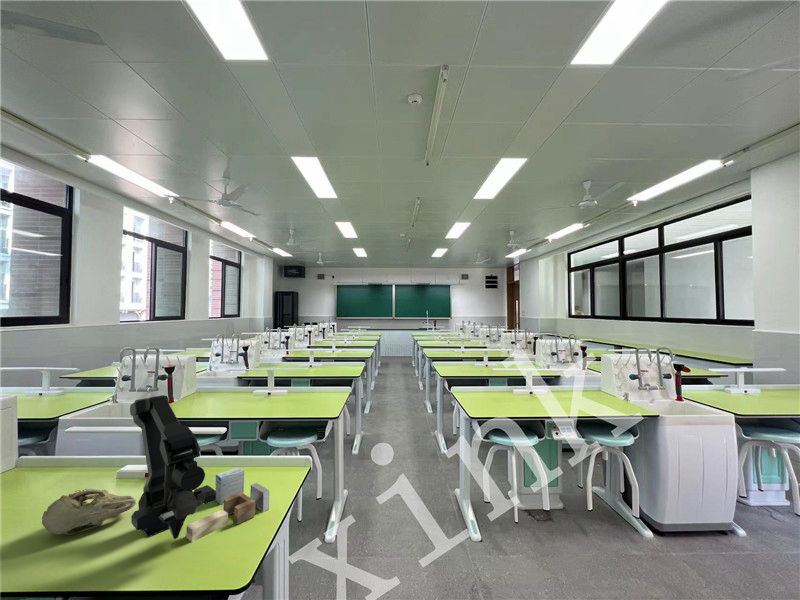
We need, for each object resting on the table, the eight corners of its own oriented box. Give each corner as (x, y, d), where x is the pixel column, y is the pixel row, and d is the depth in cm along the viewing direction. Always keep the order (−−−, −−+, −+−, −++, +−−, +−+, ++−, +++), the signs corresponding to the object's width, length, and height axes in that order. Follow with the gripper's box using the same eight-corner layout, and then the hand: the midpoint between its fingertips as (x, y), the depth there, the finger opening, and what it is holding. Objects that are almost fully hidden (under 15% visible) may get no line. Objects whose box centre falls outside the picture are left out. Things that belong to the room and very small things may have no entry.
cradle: (237, 524, 102) (237, 508, 102) (223, 513, 107) (223, 499, 108) (255, 515, 106) (255, 501, 106) (240, 506, 112) (240, 491, 112)
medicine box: (238, 491, 122) (238, 466, 122) (244, 495, 119) (244, 470, 119) (214, 500, 116) (215, 474, 116) (220, 505, 113) (221, 478, 113)
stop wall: (263, 512, 109) (263, 492, 109) (250, 503, 114) (250, 485, 114) (269, 509, 110) (269, 490, 111) (255, 501, 115) (256, 482, 116)
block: (192, 543, 94) (192, 530, 95) (186, 538, 96) (186, 525, 97) (227, 525, 103) (228, 513, 103) (221, 521, 105) (222, 509, 105)
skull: (119, 514, 113) (139, 520, 105) (32, 539, 96) (48, 549, 89) (123, 477, 116) (143, 480, 108) (39, 495, 99) (55, 501, 91)
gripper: (145, 503, 82) (143, 571, 81) (225, 475, 96) (224, 532, 95) (131, 489, 88) (129, 551, 88) (208, 464, 103) (207, 518, 102)
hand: (175, 537), depth 93 cm, fingers closed
